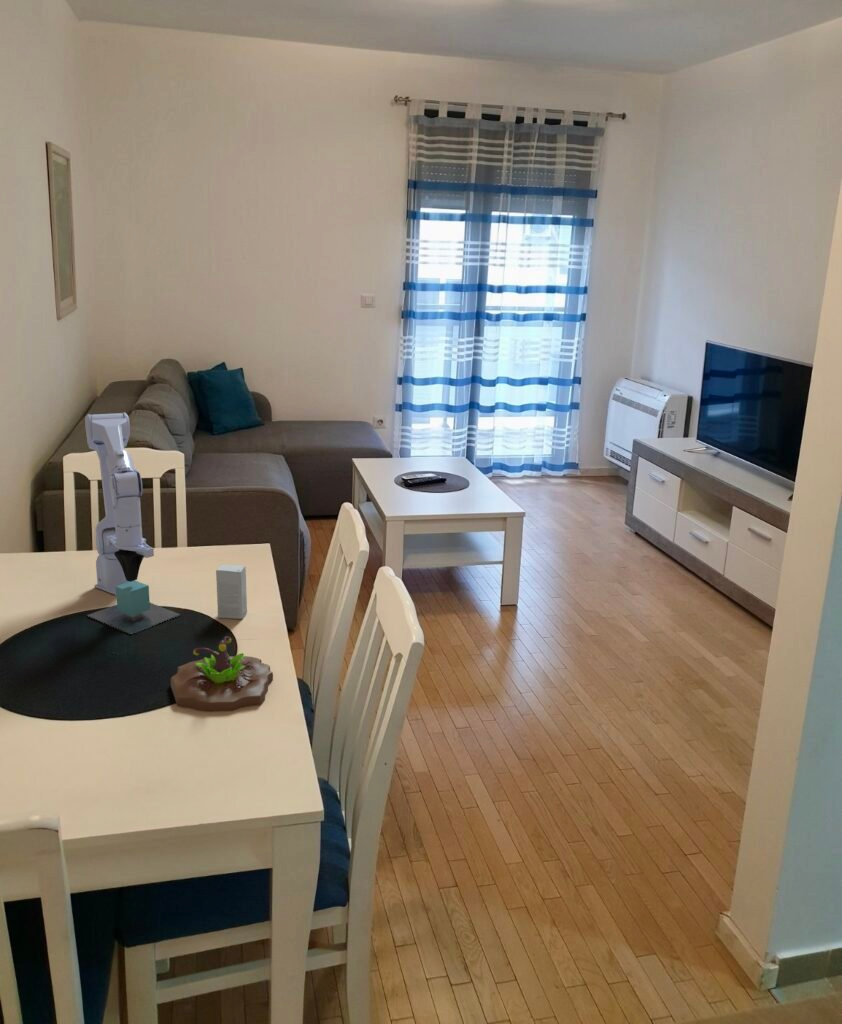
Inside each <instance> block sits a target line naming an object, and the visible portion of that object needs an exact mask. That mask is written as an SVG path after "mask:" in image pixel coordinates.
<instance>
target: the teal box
mask: <svg viewBox="0 0 842 1024" xmlns="http://www.w3.org/2000/svg"><path fill="white" fill-rule="evenodd" d="M115 596H116V597H115V598H116V605H117V611H120V612H122V613H125V614H127V615H130V616H133V615H136V614H139V613H142V612H144V611H147V610H150V603H151V602H150V586H149V584H146V583H144V582H140V581H138V580H134V581H131V582H128V583H125V584H122V585H118V586H116V595H115Z"/></svg>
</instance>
